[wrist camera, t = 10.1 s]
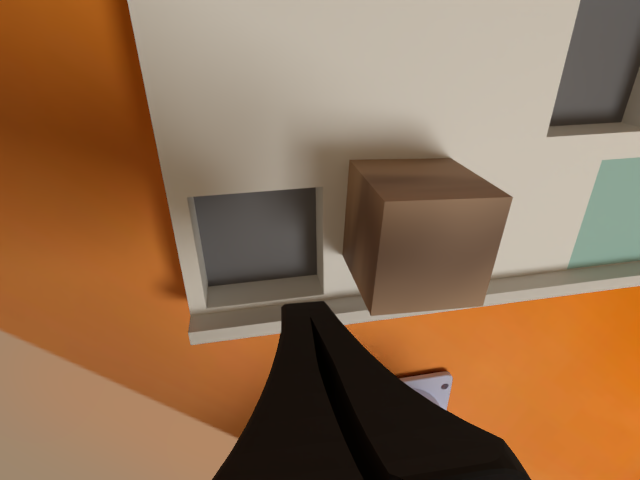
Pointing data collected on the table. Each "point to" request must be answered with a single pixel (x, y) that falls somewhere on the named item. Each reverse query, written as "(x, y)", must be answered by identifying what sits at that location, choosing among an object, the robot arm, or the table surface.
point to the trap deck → (388, 139)
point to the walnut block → (421, 234)
